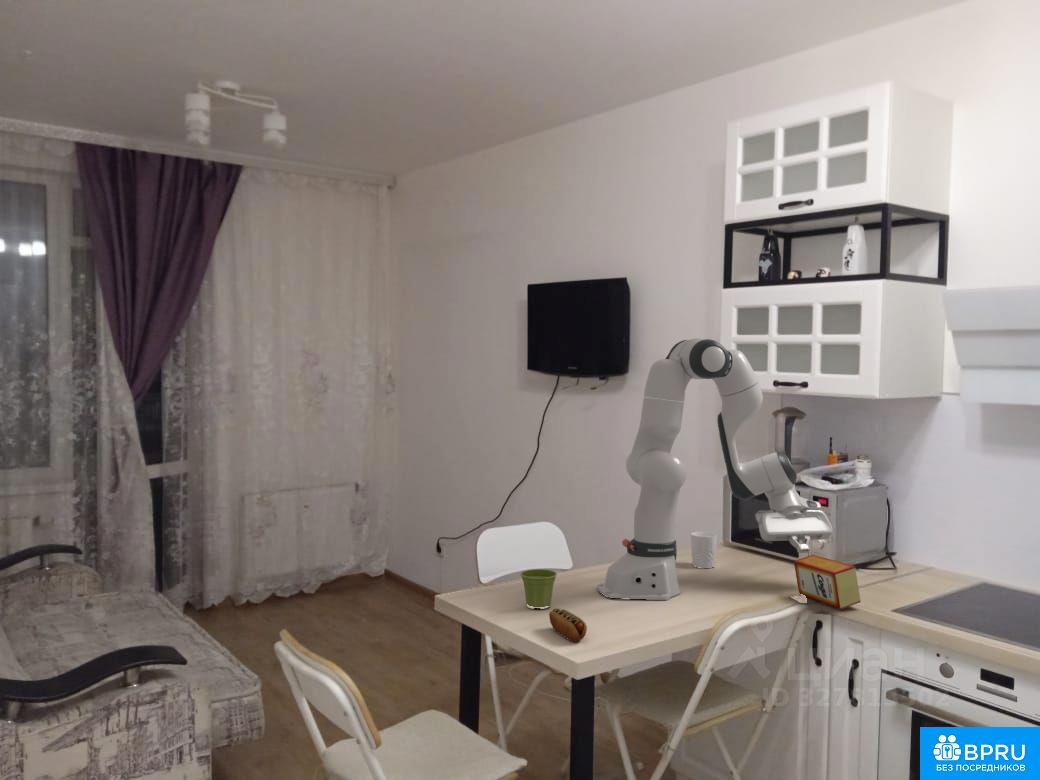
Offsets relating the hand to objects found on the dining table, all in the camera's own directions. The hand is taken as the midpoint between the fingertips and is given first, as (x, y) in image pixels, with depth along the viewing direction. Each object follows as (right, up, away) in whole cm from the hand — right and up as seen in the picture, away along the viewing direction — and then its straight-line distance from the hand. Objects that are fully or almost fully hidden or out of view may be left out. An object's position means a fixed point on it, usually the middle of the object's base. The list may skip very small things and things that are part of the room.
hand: (804, 551), depth 227 cm
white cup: (-21, -11, +30) cm, 38 cm away
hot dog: (-66, -13, -35) cm, 76 cm away
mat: (+1, -12, -6) cm, 13 cm away
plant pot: (-73, -12, -13) cm, 75 cm away
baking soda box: (0, -6, -1) cm, 6 cm away
